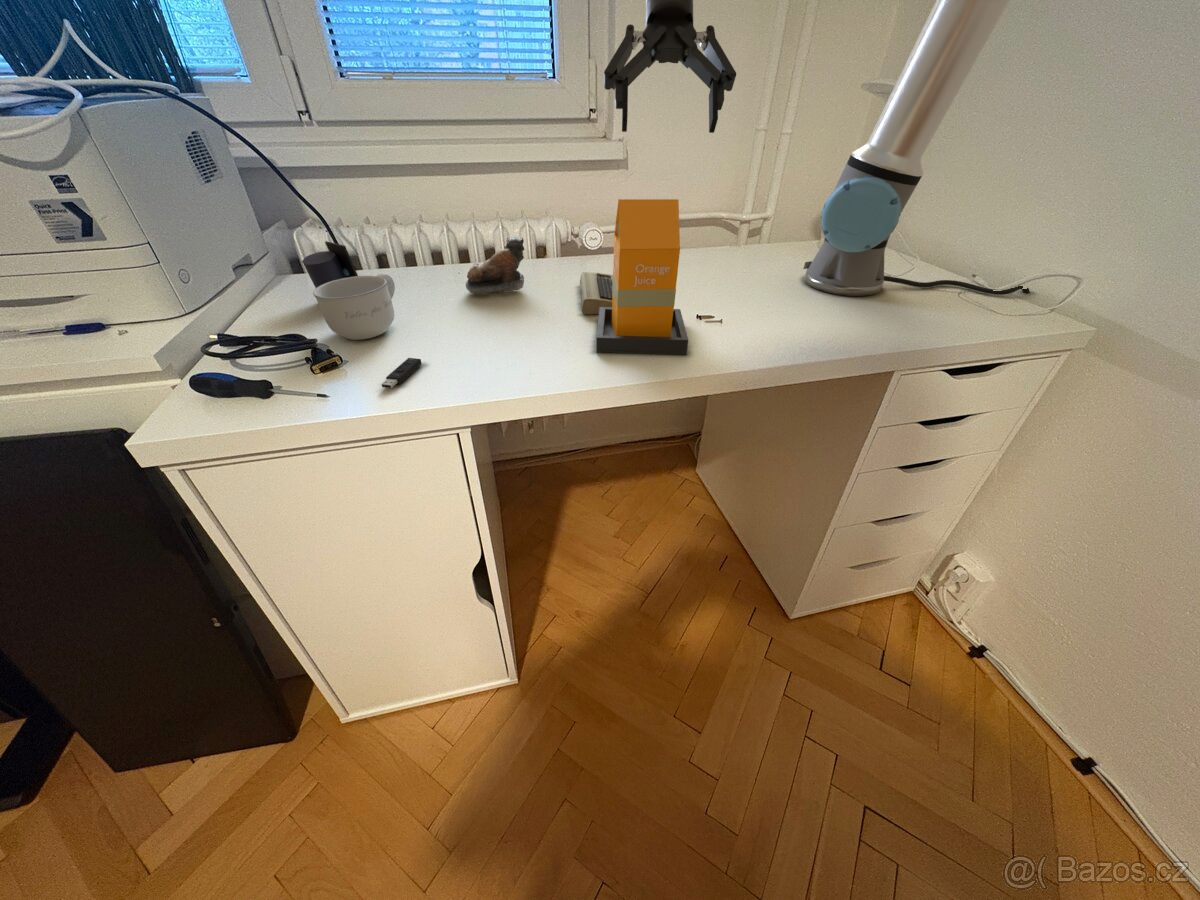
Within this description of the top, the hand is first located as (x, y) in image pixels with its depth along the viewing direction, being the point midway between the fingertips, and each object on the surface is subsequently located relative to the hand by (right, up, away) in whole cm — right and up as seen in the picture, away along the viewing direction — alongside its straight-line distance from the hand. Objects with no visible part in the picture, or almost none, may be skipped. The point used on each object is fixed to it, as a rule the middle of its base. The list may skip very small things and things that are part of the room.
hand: (669, 125), depth 74 cm
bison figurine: (-31, -18, +23) cm, 43 cm away
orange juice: (-4, -31, +6) cm, 31 cm away
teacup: (-49, -30, +7) cm, 58 cm away
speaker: (-59, -22, +17) cm, 66 cm away
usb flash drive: (-38, -39, -6) cm, 55 cm away
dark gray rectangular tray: (-4, -31, +6) cm, 32 cm away
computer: (-10, -21, +20) cm, 31 cm away
